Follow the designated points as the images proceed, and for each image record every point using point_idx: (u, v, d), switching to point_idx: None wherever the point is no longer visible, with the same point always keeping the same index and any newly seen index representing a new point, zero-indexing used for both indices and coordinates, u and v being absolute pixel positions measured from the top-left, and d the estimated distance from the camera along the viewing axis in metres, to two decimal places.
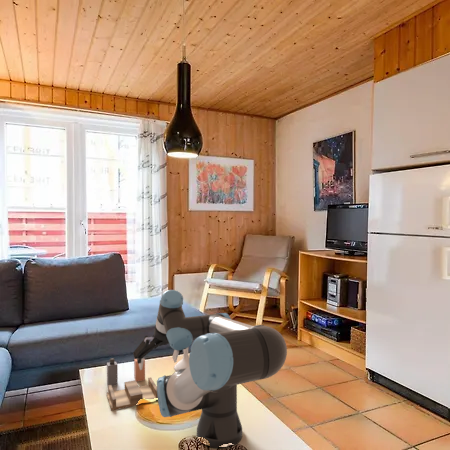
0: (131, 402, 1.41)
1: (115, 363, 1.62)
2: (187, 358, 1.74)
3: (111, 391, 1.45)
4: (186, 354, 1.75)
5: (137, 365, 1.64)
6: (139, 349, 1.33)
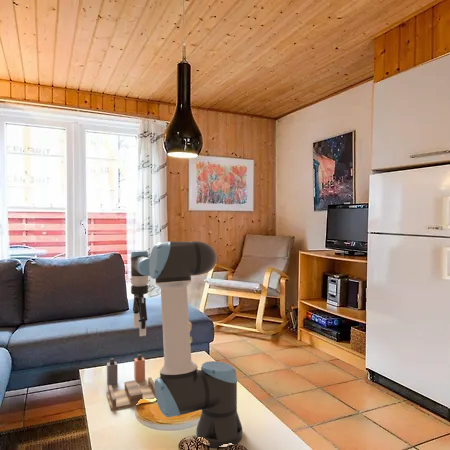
0: (131, 402, 1.41)
1: (115, 363, 1.62)
2: None
3: (111, 391, 1.45)
4: None
5: (137, 365, 1.64)
6: (144, 310, 1.58)
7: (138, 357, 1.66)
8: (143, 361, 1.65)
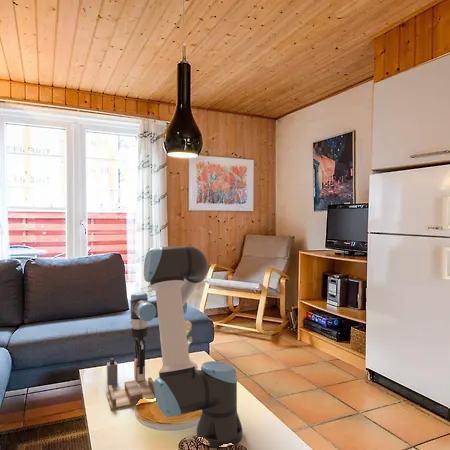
0: (131, 402, 1.41)
1: (115, 363, 1.62)
2: None
3: (111, 391, 1.45)
4: None
5: (137, 365, 1.64)
6: (142, 357, 1.61)
7: None
8: None
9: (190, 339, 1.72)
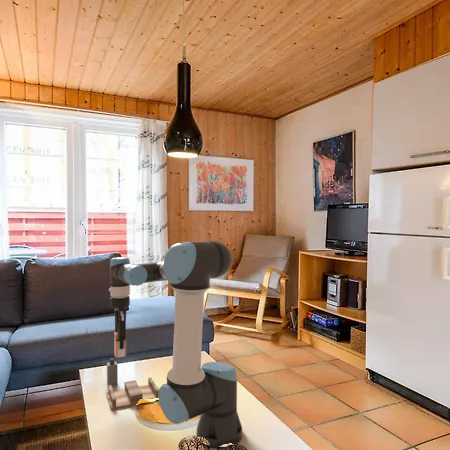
0: (131, 402, 1.41)
1: (115, 363, 1.62)
2: None
3: (111, 391, 1.45)
4: None
5: (117, 339, 1.44)
6: (123, 330, 1.41)
7: None
8: None
9: None
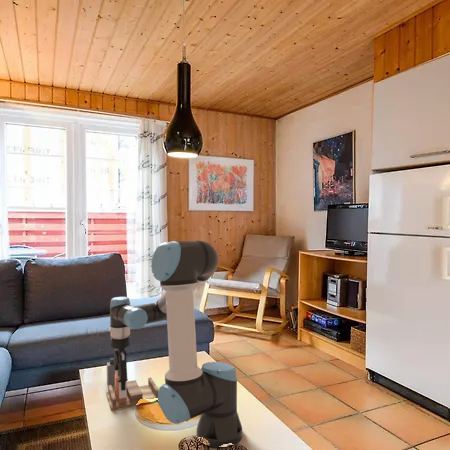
0: (131, 402, 1.41)
1: None
2: None
3: (111, 391, 1.45)
4: None
5: (117, 382, 1.44)
6: (124, 370, 1.40)
7: None
8: None
9: None
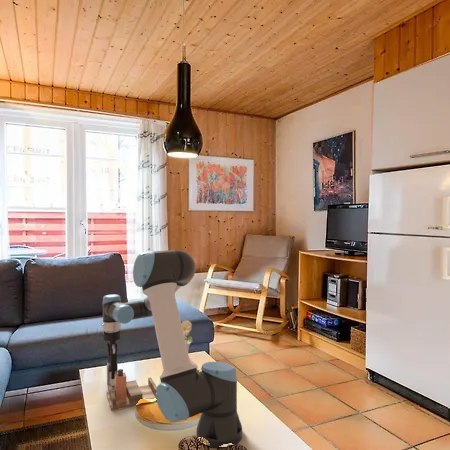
0: (131, 402, 1.41)
1: None
2: None
3: (111, 391, 1.45)
4: None
5: (117, 382, 1.44)
6: (114, 362, 1.56)
7: (119, 373, 1.46)
8: (124, 377, 1.45)
9: (190, 339, 1.72)
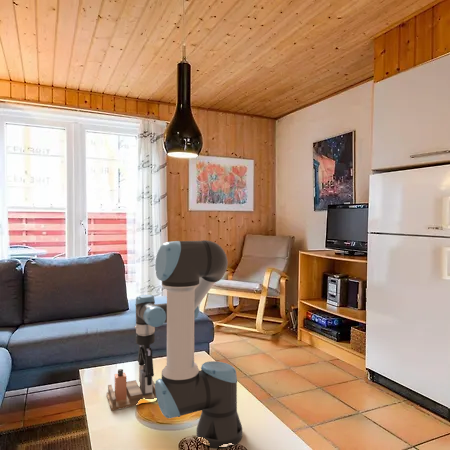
0: (131, 402, 1.41)
1: None
2: None
3: (111, 391, 1.45)
4: None
5: (117, 382, 1.44)
6: (150, 365, 1.44)
7: (119, 373, 1.46)
8: (124, 377, 1.45)
9: None
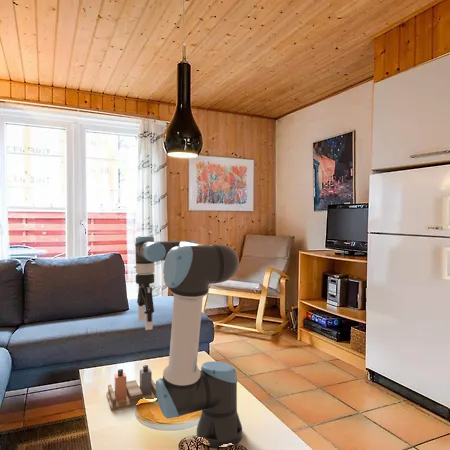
0: (131, 402, 1.41)
1: (149, 370, 1.51)
2: None
3: (111, 391, 1.45)
4: None
5: (117, 382, 1.44)
6: (150, 301, 1.43)
7: (119, 373, 1.46)
8: (124, 377, 1.45)
9: None
